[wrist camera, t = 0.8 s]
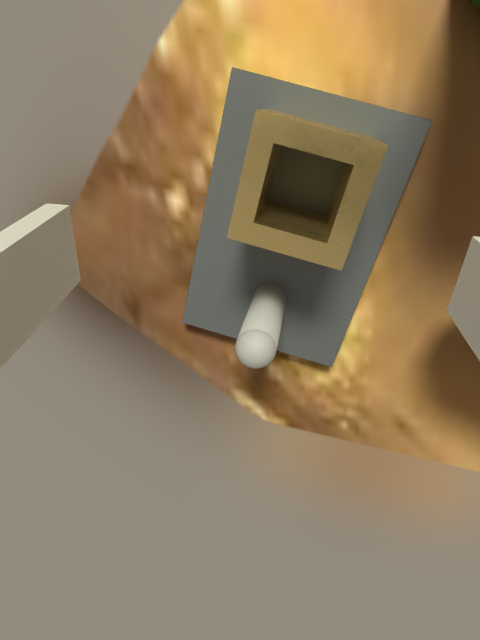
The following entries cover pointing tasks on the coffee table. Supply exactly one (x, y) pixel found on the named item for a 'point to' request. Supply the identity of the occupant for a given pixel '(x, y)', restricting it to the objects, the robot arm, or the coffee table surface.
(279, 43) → the coffee table surface
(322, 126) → the collar
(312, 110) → the post plate
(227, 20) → the coffee table surface
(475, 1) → the milk carton
